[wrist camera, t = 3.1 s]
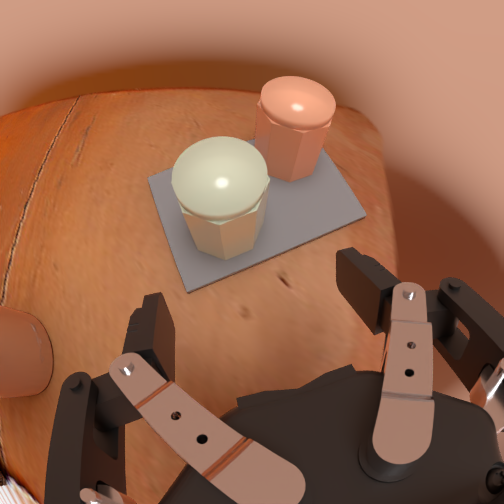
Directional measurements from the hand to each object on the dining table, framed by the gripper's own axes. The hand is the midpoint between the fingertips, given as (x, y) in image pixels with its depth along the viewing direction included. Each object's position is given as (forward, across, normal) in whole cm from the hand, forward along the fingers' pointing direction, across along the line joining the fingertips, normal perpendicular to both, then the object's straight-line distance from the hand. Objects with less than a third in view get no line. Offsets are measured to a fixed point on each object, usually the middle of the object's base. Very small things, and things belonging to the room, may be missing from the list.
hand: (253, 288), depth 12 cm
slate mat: (+17, -4, +1) cm, 17 cm away
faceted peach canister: (+19, -8, -2) cm, 21 cm away
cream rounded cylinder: (+14, 0, +2) cm, 15 cm away
